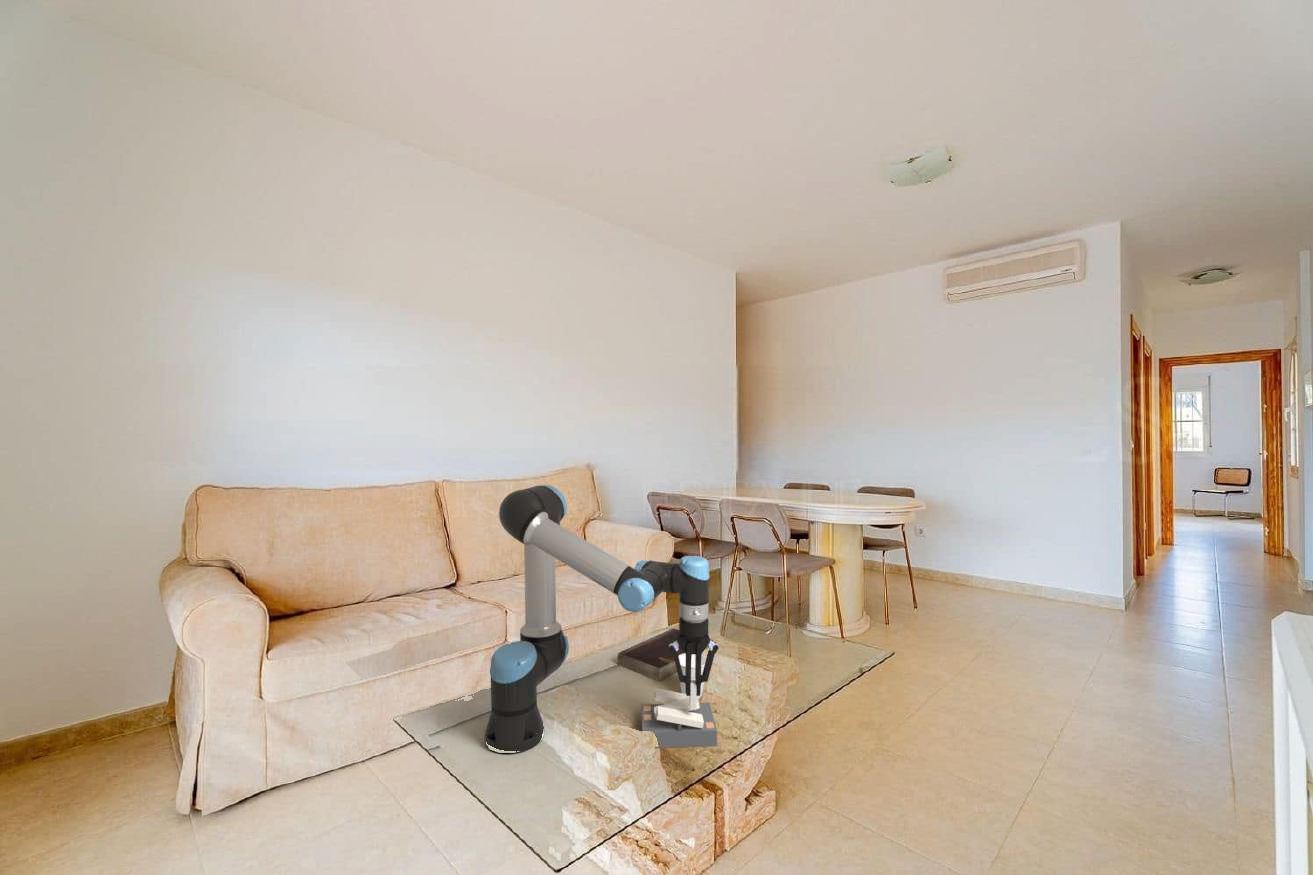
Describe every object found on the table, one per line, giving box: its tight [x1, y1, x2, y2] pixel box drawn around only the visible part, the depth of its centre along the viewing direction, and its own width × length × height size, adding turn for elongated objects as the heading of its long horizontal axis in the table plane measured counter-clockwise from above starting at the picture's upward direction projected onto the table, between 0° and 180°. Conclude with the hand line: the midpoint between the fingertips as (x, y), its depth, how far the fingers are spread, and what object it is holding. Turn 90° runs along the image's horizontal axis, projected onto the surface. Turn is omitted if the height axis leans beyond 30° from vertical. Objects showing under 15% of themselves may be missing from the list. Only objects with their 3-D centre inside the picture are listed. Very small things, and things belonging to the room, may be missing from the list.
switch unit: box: [640, 702, 718, 749], centre depth 149 cm, size 19×14×6 cm
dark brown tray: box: [617, 628, 714, 683], centre depth 194 cm, size 29×19×5 cm, turn 138°
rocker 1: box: [654, 687, 700, 704], centre depth 153 cm, size 12×4×2 cm, turn 94°
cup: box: [679, 653, 707, 700], centre depth 168 cm, size 10×10×11 cm
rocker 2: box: [656, 706, 704, 728], centre depth 144 cm, size 12×4×2 cm, turn 93°
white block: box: [654, 696, 700, 720], centre depth 148 cm, size 12×4×2 cm, turn 92°
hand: (692, 707), depth 144 cm, fingers closed
